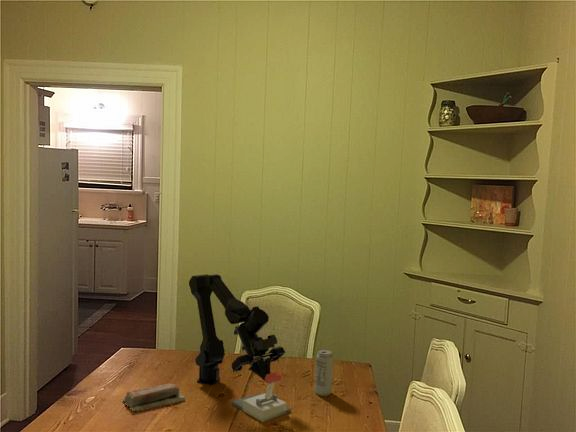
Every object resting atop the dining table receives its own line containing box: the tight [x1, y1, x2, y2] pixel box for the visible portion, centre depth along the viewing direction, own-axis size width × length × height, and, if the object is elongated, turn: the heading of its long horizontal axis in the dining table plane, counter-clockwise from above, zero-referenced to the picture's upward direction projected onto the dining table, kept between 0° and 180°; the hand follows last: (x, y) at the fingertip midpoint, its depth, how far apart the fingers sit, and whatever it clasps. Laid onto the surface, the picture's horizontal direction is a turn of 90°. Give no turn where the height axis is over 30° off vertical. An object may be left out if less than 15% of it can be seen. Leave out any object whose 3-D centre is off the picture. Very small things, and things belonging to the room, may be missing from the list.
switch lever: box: [261, 371, 283, 403], centre depth 169 cm, size 2×5×10 cm, turn 132°
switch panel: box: [231, 392, 292, 423], centre depth 174 cm, size 16×12×5 cm
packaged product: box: [122, 383, 186, 412], centre depth 176 cm, size 18×5×10 cm
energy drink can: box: [314, 349, 334, 397], centre depth 188 cm, size 6×6×15 cm
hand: (269, 382), depth 169 cm, fingers closed, pressing on switch lever
